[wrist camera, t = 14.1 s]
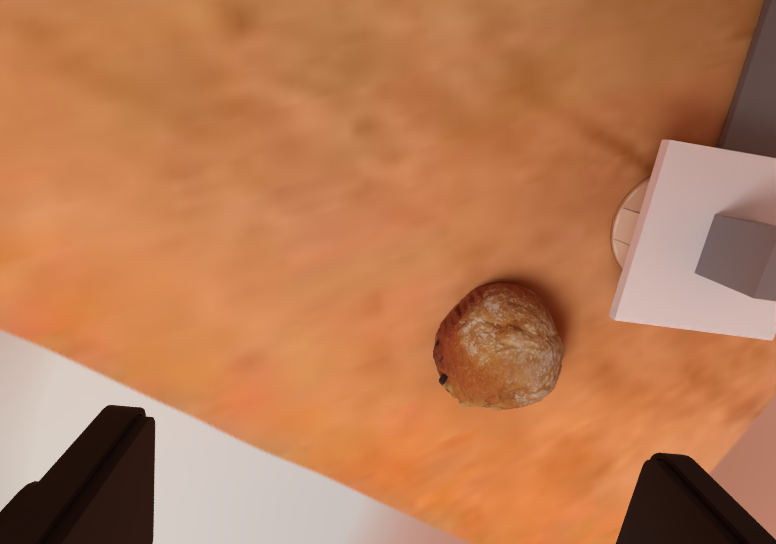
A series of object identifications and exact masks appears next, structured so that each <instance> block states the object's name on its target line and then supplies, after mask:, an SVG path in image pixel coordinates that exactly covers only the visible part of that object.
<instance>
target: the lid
mask: <svg viewBox="0 0 776 544" xmlns="http://www.w3.org/2000/svg"><path fill="white" fill-rule="evenodd" d="M609 317H611V318H612V319H614V320H617V321H624V322H632V323H640V324H648V325H656V326H663V327H671V328H679V329H687V330H694V331H702V332H710V333H718V334H726V335H733V336H741V337H749V338H757V339H764V340H772V341H773V339H774V336H775V334H776V158H771V157H765V156H760V155H754V154H748V153H743V152H737V151H731V150H725V149H720V148H714V147H708V146H703V145H697V144H691V143H685V142H680V141H674V140H662V141H661V145H660V148H659V151H658V155H657V158H656V161H655V165H654V168H653V171H652V174H651V178H650V181H649V184H648V188H647V191H646V194H645V197H644V201H643V204H642V207H641V211H640V214H639V217H638V221H637V224H636V227H635V230H634V234H633V237H632V240H631V244H630V247H629V250H628V254H627V257H626V260H625V263H624V267H623V270H622V273H621V277H620V280H619V283H618V286H617V290H616V293H615V296H614V300H613V303H612V306H611V310H610V313H609Z"/></svg>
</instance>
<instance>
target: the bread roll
mask: <svg viewBox="0 0 776 544" xmlns="http://www.w3.org/2000/svg"><path fill="white" fill-rule="evenodd" d="M557 333H558V332H557V330H556V328H555V324H554V322H553V319H552V317H551V315H550V313H549V310H548V308H547V306H546V304H545V303H544V301H543V300H542V299H541V298H540V297H539V296H538V295H536V294H535V293H534V292H532V291H531V290H529V289H528V288H526V287H524V286H521V285H517V284H511V283H495V284H490V285H486V286H481V287H479V288H477V289H475V290H473V291H471V292H470V293H469V294H467V296H466V297H465V298H463V299H462V300H461V301H460V303H459V304H458V305H456V306H455V307H454V308H453V310H452V311H451V312H450V313H449V314H448V315H447V317H446V318H445V319H444V320H443V322H442V323H441V325H440V328H439V330H438V331H437V333H436V338H435V346H434V350H433V358H434V360H435V363H436V366H437V370H438V372H439V374H440V379H439V382H440V384H441V385H442V386H444V387H445V388H446V390H447V391H448V392H450V393H451V395H452V396H453V398H458V399H459V403H460V404H461V405H462V406H464V407H476V406H478V407H485V408H491V409H493V410H502V409H513V408H520V407H524V406H527V405H531V404H533V403H536V402H538V401H540V400H542V399H543V398H544V397H545V396H547V395H548V394H549V393H550V392H551V391H552V390H553V389H554V387H555V385H556V382H557V380H558V377H559V374H560V371H561V367H562V364H561V363H562V358H563V352H564V349H565V348H564V346H563V344H562V341H561V339H560V336H559V335H558V334H557Z"/></svg>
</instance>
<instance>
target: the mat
mask: <svg viewBox="0 0 776 544" xmlns="http://www.w3.org/2000/svg"><path fill="white" fill-rule="evenodd" d="M717 148H720V149H725V150H731V151H737V152H743V153H748V154H754V155H760V156H765V157H771V158H776V0H765V2H764V5H763V8H762V11H761V14H760V17H759V20H758V24H757V27H756V30H755V33H754V36H753V39H752V42H751V45H750V48H749V51H748V54H747V57H746V60H745V64H744V67H743V70H742V73H741V76H740V79H739V82H738V85H737V88H736V91H735V94H734V97H733V100H732V104H731V107H730V110H729V113H728V116H727V119H726V122H725V125H724V128H723V131H722V134H721V137H720V140H719V144H718V147H717Z"/></svg>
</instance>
